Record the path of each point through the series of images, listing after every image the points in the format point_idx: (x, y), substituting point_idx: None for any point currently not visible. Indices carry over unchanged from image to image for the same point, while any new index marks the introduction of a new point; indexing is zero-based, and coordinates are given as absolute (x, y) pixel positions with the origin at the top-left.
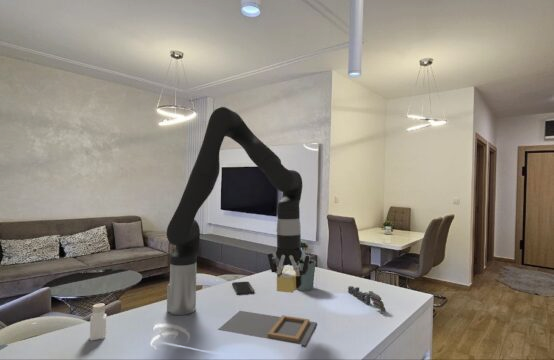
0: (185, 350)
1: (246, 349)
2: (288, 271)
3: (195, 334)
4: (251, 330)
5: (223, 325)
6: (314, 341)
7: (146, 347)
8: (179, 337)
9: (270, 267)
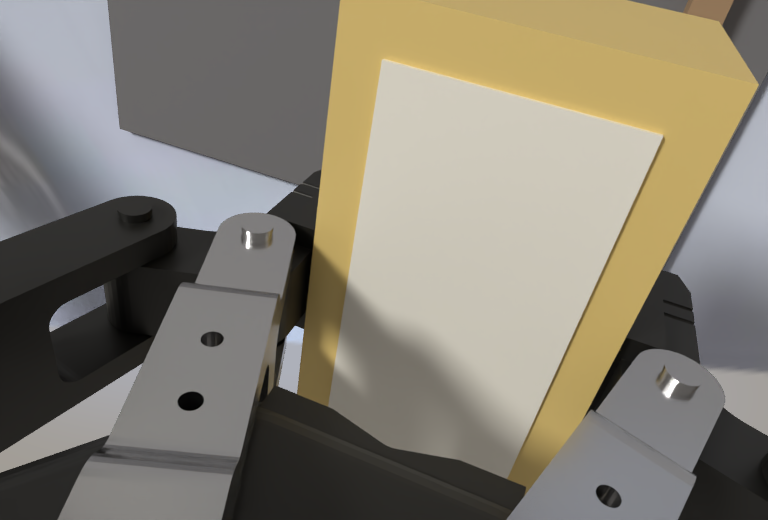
0: None
1: None
2: (413, 166)
3: (57, 169)
4: (296, 127)
5: (119, 72)
6: (733, 224)
7: None
8: (20, 200)
9: (70, 344)
